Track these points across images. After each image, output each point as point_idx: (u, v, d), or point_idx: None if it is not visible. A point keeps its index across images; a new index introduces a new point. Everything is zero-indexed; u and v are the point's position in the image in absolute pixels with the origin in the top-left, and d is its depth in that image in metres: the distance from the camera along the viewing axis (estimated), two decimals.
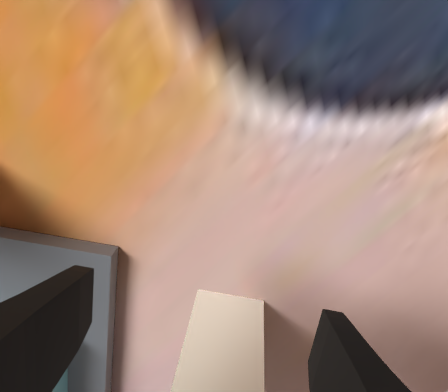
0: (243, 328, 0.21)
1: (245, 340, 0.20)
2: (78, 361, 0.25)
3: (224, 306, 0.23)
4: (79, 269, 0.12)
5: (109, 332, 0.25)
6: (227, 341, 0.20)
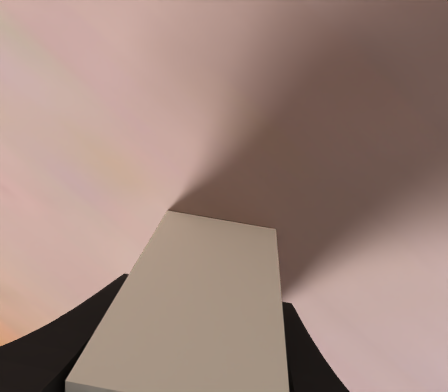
0: None
1: None
2: None
3: None
4: None
5: None
6: None
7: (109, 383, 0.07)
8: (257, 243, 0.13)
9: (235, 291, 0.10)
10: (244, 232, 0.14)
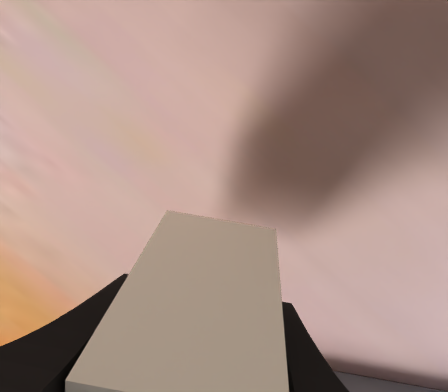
0: None
1: None
2: None
3: None
4: None
5: None
6: None
7: (109, 383, 0.07)
8: (257, 243, 0.13)
9: (235, 291, 0.10)
10: (244, 232, 0.14)
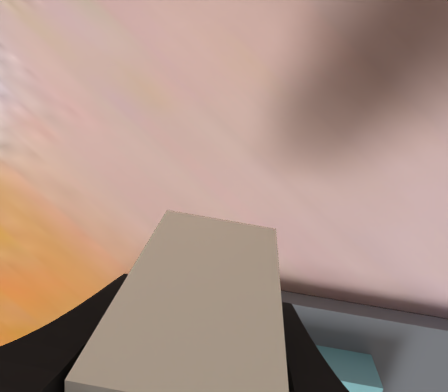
0: None
1: None
2: None
3: None
4: None
5: None
6: None
7: (109, 383, 0.07)
8: (257, 243, 0.13)
9: (235, 291, 0.10)
10: (244, 231, 0.14)
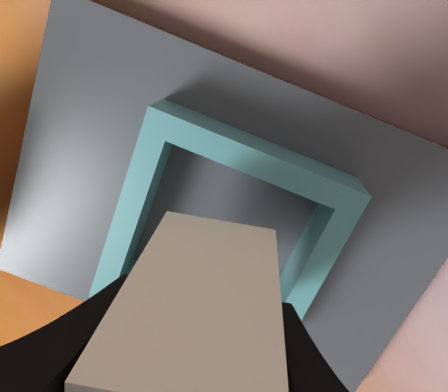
0: None
1: None
2: (223, 104, 0.17)
3: None
4: None
5: (188, 41, 0.16)
6: None
7: (109, 384, 0.07)
8: (256, 244, 0.13)
9: (235, 292, 0.10)
10: (244, 232, 0.14)
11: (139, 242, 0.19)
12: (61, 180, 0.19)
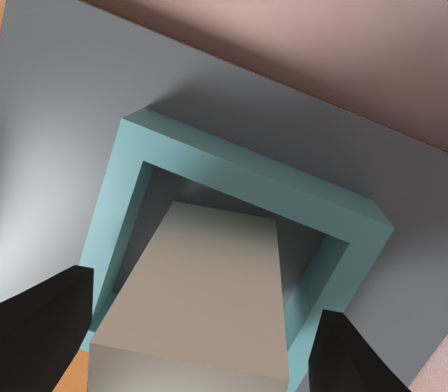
0: None
1: None
2: (215, 114, 0.14)
3: None
4: (79, 269, 0.12)
5: (172, 40, 0.14)
6: None
7: (128, 345, 0.08)
8: (258, 231, 0.14)
9: (238, 272, 0.11)
10: (246, 221, 0.15)
11: (119, 273, 0.17)
12: (26, 201, 0.16)
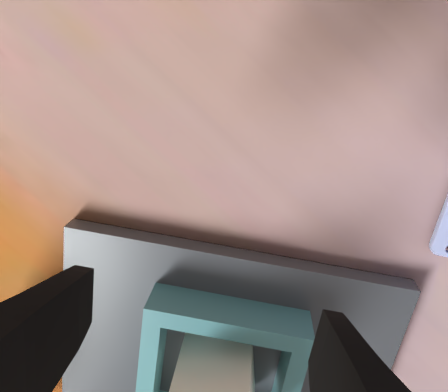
0: None
1: None
2: (198, 279, 0.23)
3: None
4: (79, 270, 0.12)
5: (164, 241, 0.22)
6: None
7: None
8: (239, 347, 0.22)
9: (225, 389, 0.19)
10: None
11: (161, 378, 0.25)
12: (95, 345, 0.25)
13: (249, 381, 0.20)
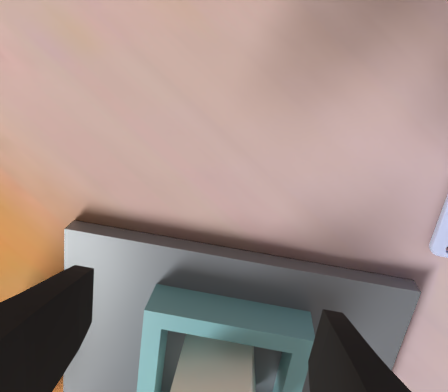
0: None
1: None
2: (199, 280, 0.23)
3: None
4: (79, 269, 0.12)
5: (164, 243, 0.22)
6: None
7: None
8: (240, 348, 0.22)
9: (226, 390, 0.20)
10: None
11: (162, 379, 0.25)
12: (96, 346, 0.25)
13: (250, 382, 0.20)
